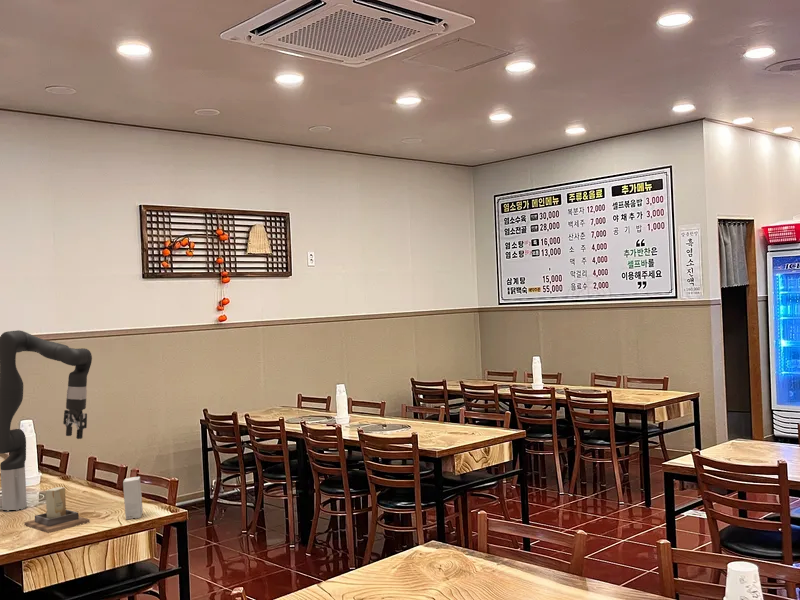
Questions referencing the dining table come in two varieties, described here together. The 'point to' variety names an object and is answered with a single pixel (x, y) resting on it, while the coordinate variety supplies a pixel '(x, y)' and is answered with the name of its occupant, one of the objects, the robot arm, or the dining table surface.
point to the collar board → (56, 521)
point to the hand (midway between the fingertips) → (74, 437)
